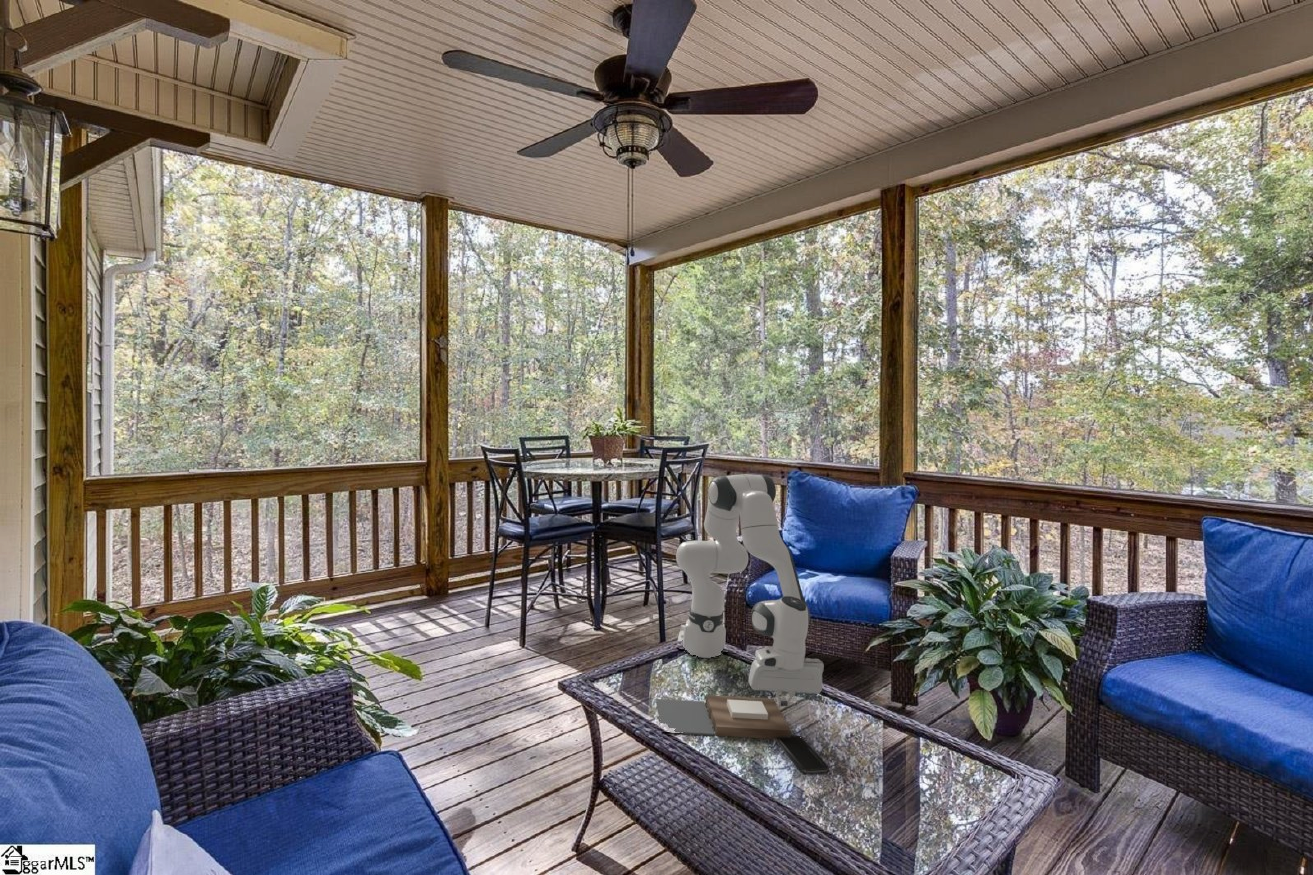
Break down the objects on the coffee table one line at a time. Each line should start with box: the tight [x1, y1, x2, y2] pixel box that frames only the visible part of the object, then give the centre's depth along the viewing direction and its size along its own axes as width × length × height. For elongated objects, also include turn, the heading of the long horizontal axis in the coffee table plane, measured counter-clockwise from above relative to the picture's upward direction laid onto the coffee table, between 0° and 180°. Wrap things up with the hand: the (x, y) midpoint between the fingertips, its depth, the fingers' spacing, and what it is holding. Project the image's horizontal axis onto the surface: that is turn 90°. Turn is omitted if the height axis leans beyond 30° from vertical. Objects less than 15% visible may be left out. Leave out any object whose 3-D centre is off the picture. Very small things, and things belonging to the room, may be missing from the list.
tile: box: [727, 699, 768, 720], centre depth 169 cm, size 7×10×2 cm
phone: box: [775, 735, 830, 775], centre depth 154 cm, size 8×1×15 cm
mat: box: [655, 698, 715, 737], centre depth 167 cm, size 17×14×1 cm
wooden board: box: [705, 694, 792, 740], centre depth 169 cm, size 17×20×2 cm
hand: (782, 705), depth 169 cm, fingers closed
